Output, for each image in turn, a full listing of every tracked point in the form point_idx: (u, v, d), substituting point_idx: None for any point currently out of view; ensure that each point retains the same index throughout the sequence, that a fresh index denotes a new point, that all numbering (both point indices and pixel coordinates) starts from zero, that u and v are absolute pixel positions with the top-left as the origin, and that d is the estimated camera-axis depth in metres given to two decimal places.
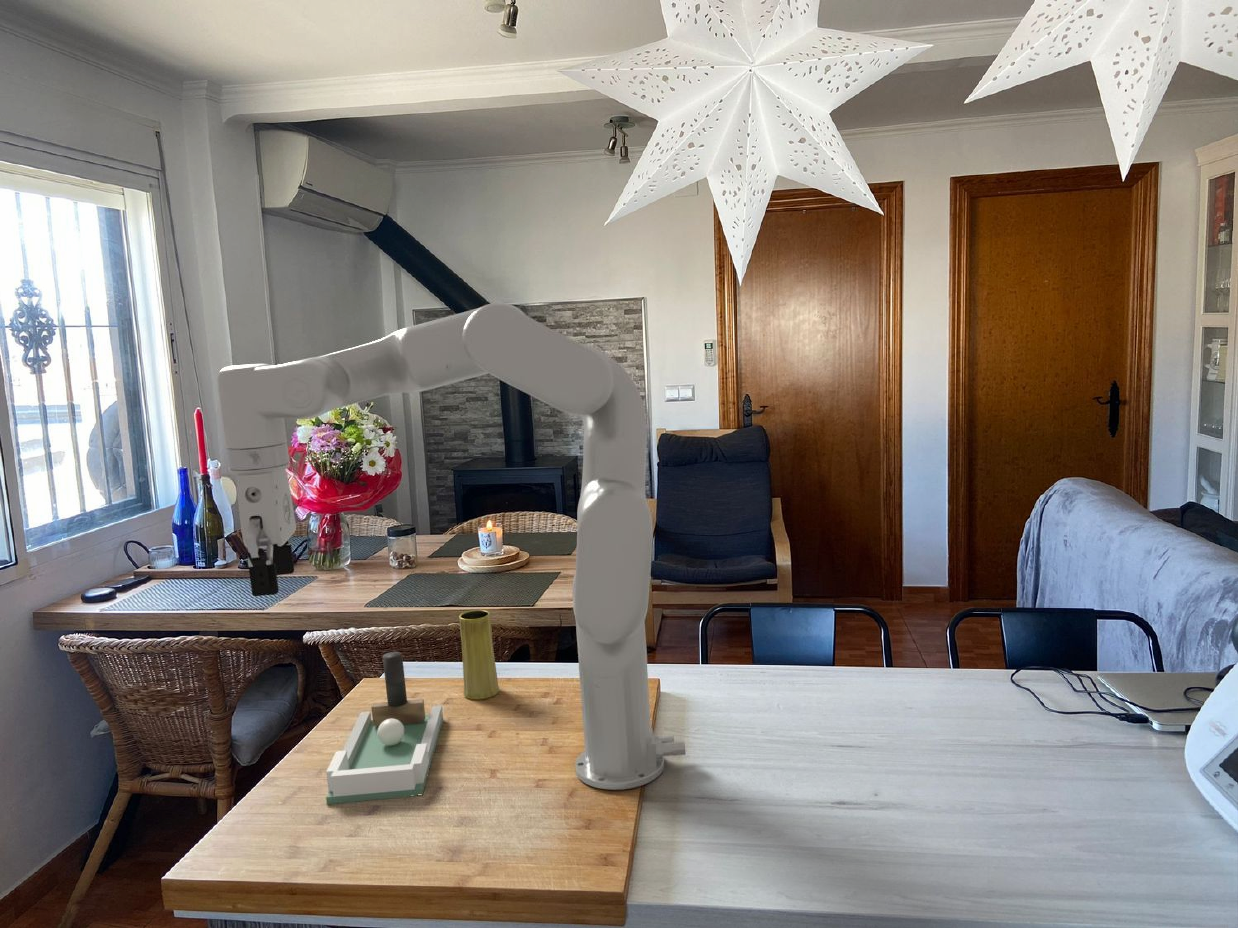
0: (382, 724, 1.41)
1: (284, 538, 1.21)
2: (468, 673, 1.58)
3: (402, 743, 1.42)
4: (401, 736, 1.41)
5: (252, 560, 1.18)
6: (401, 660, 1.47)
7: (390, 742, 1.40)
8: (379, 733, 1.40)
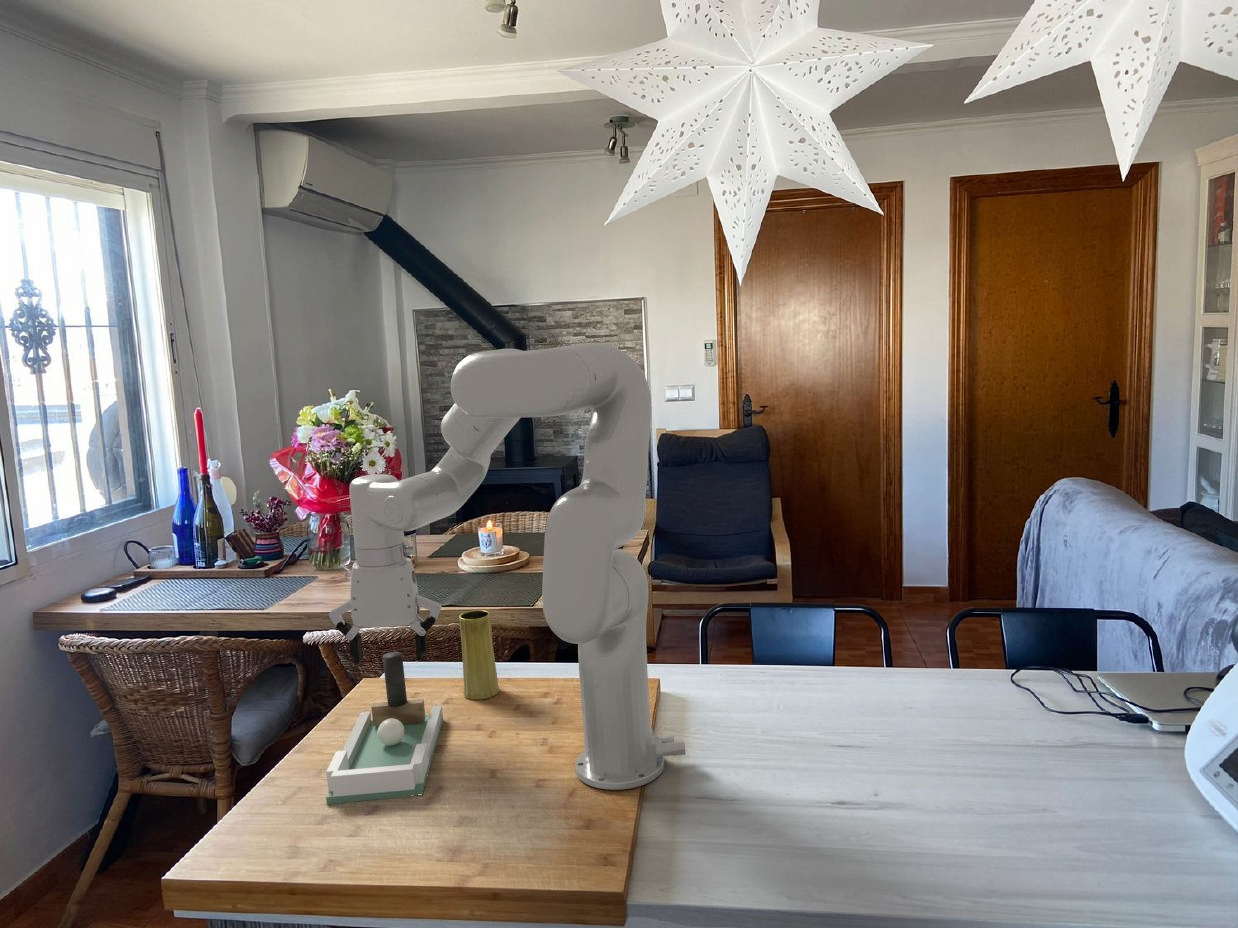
0: (382, 724, 1.41)
1: None
2: (468, 673, 1.58)
3: (402, 743, 1.42)
4: (401, 736, 1.41)
5: None
6: (401, 660, 1.47)
7: (390, 742, 1.40)
8: (379, 733, 1.40)
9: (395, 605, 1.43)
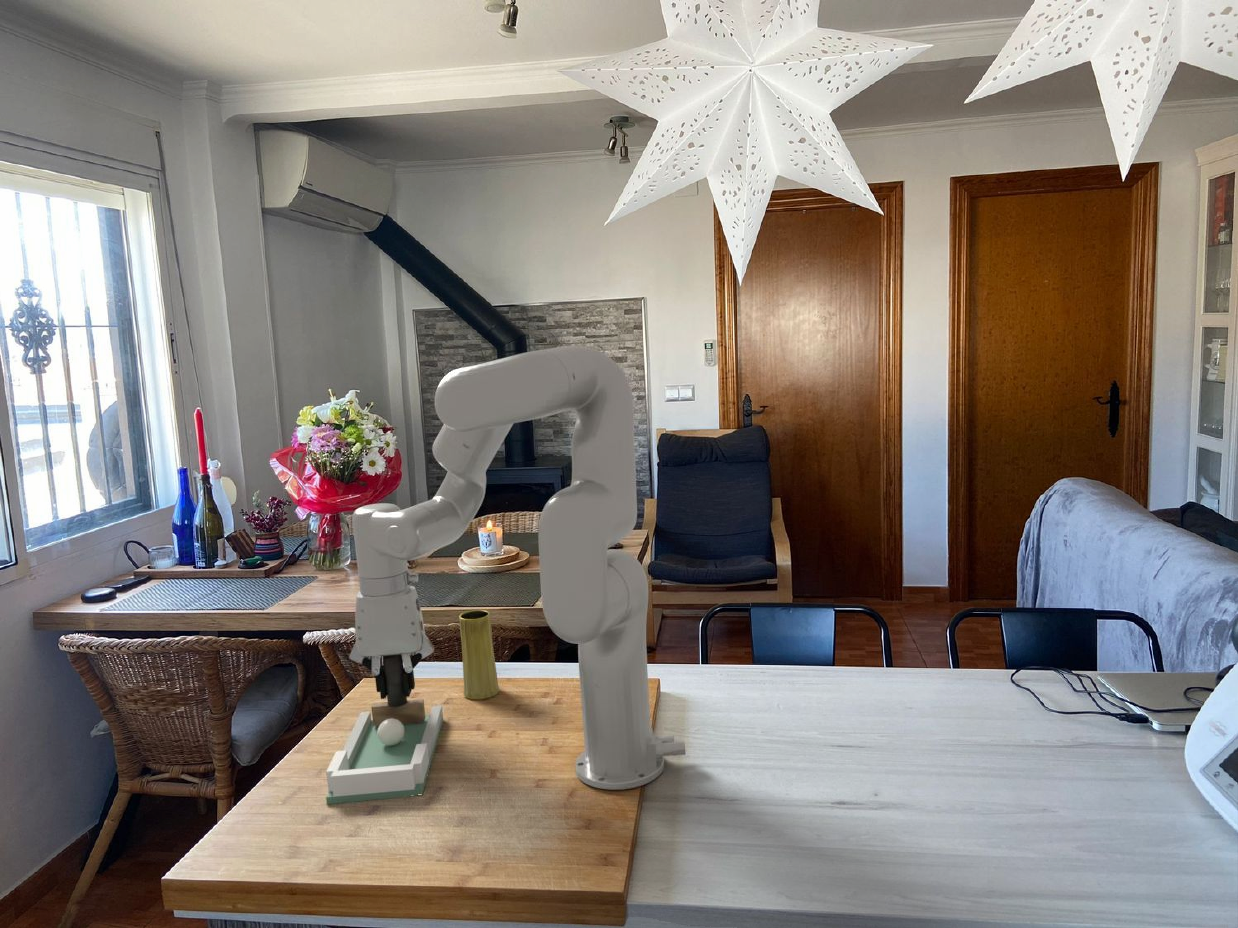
0: (382, 724, 1.41)
1: None
2: (468, 673, 1.58)
3: (402, 743, 1.42)
4: (401, 736, 1.41)
5: (418, 662, 1.47)
6: (401, 660, 1.47)
7: (390, 742, 1.40)
8: (379, 733, 1.40)
9: (400, 633, 1.44)
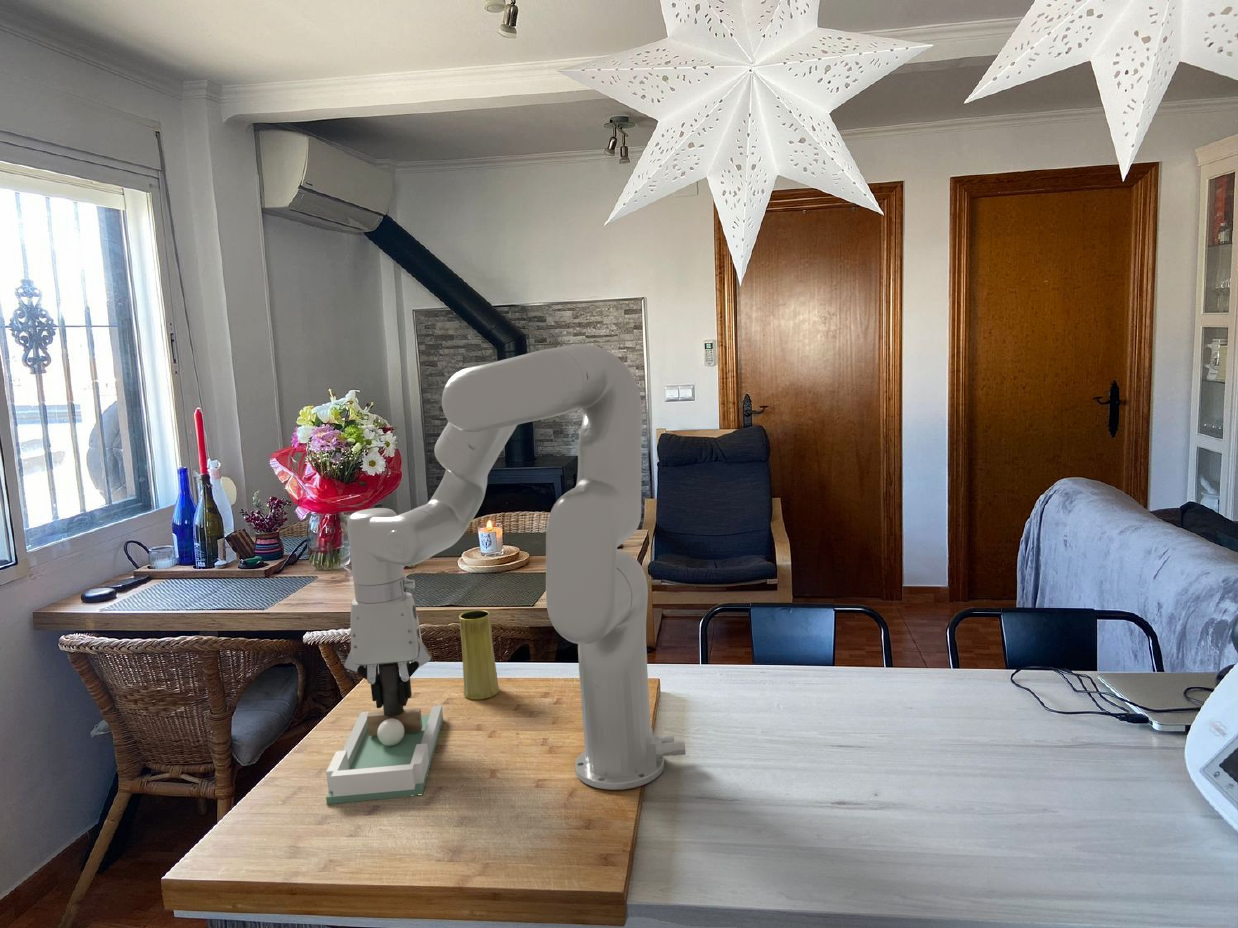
0: (382, 724, 1.41)
1: None
2: (468, 673, 1.58)
3: (402, 743, 1.42)
4: (401, 736, 1.41)
5: (414, 671, 1.43)
6: (397, 668, 1.43)
7: (390, 742, 1.40)
8: (379, 733, 1.40)
9: (396, 641, 1.41)
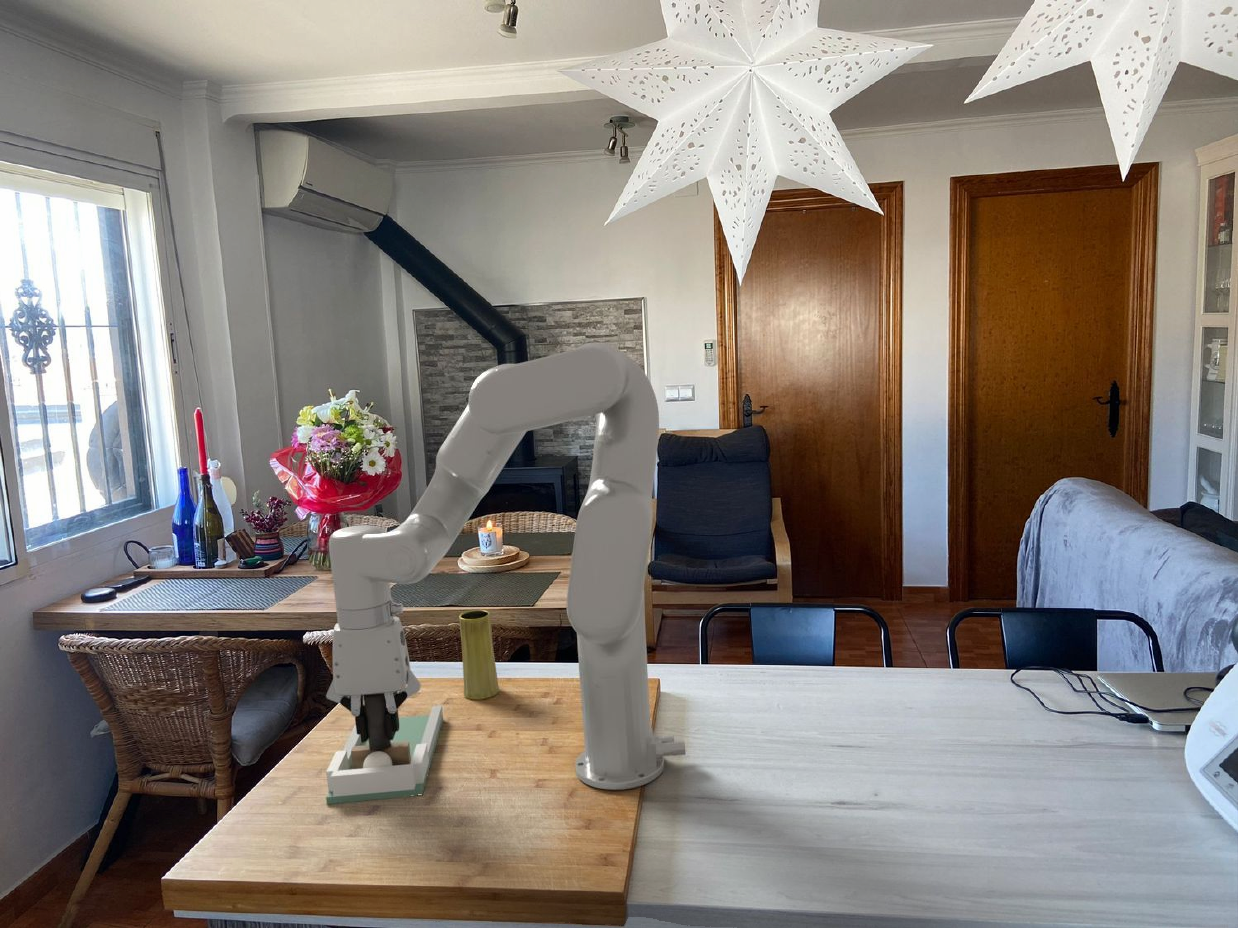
0: None
1: None
2: (468, 673, 1.58)
3: None
4: (388, 763, 1.30)
5: (402, 702, 1.32)
6: (384, 699, 1.32)
7: (376, 761, 1.30)
8: (366, 757, 1.31)
9: (382, 670, 1.29)
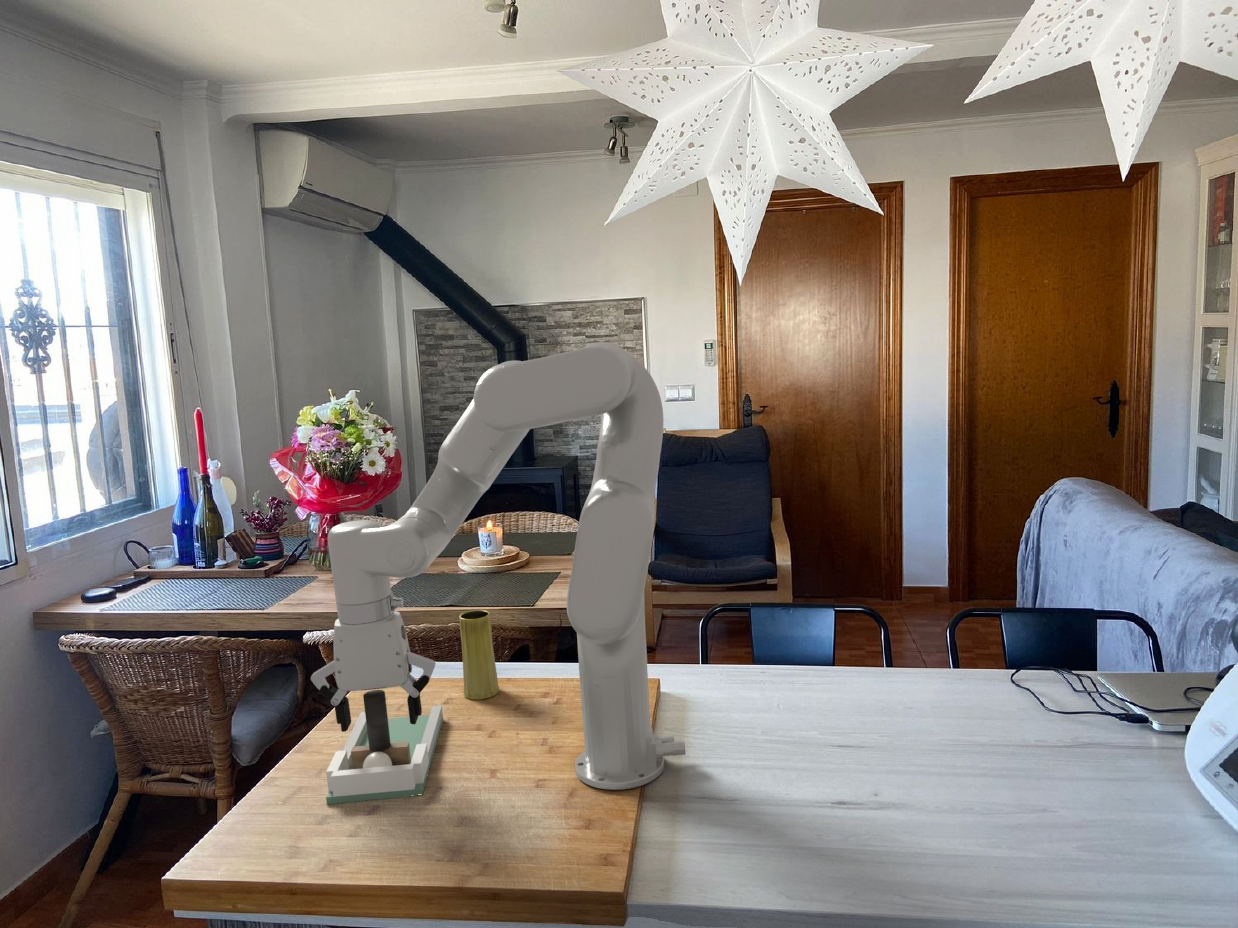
0: None
1: None
2: (468, 673, 1.58)
3: None
4: (388, 763, 1.30)
5: (425, 685, 1.32)
6: (384, 699, 1.32)
7: (375, 763, 1.29)
8: (366, 758, 1.31)
9: (383, 665, 1.29)
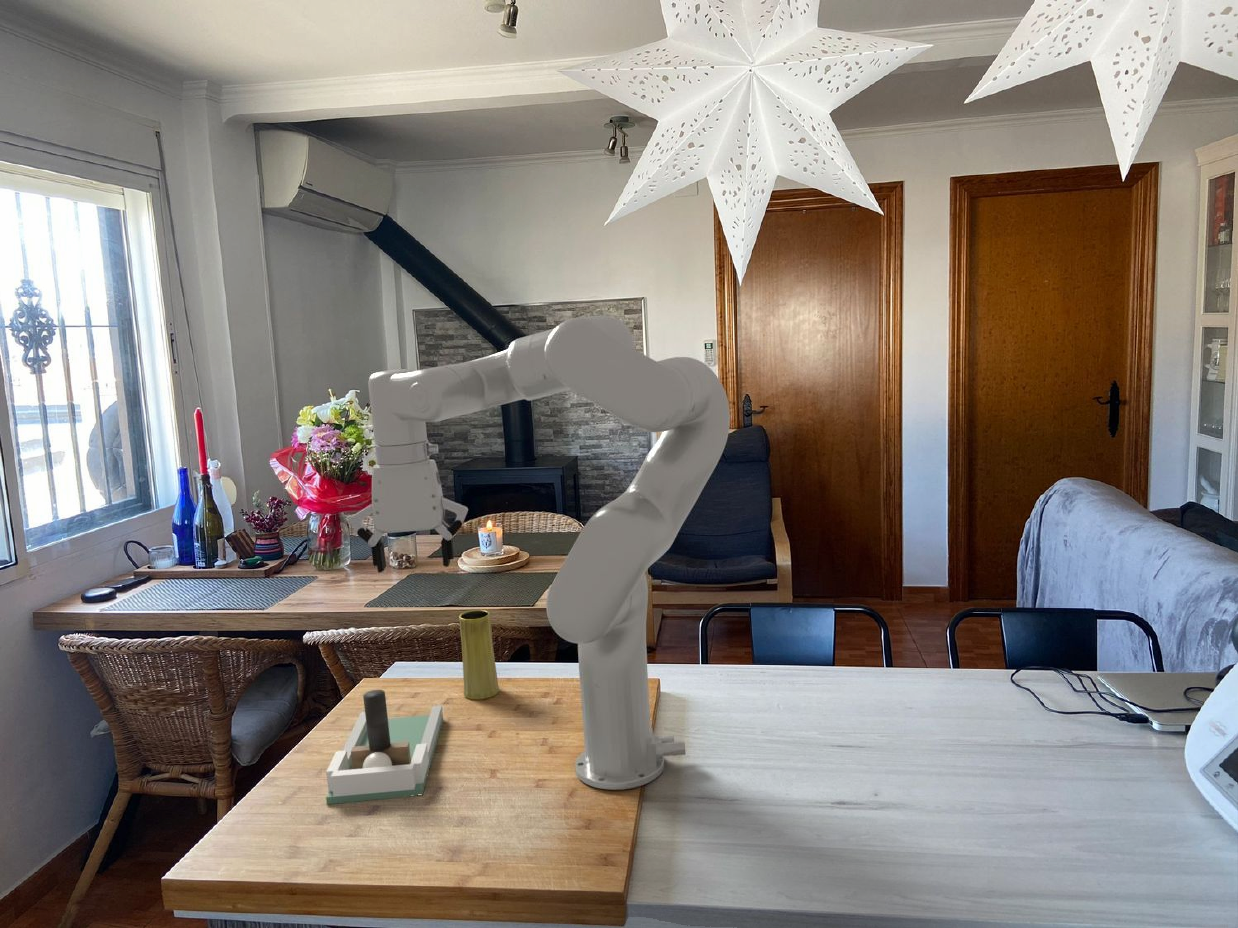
0: None
1: None
2: (468, 673, 1.58)
3: None
4: (388, 764, 1.30)
5: (457, 530, 1.38)
6: (384, 699, 1.32)
7: (375, 764, 1.29)
8: (365, 759, 1.30)
9: (419, 507, 1.36)
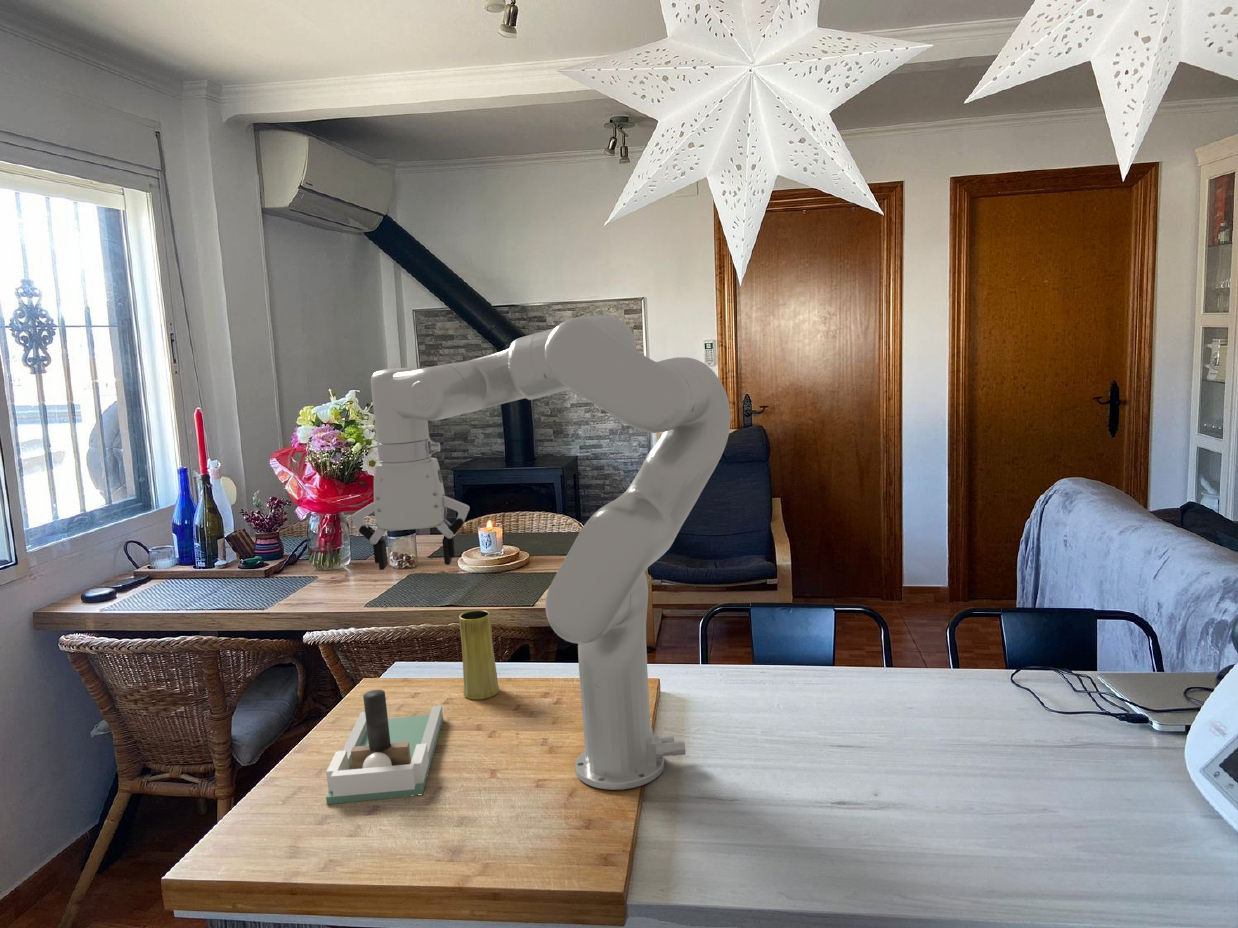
0: None
1: None
2: (468, 673, 1.58)
3: None
4: (387, 765, 1.30)
5: (459, 528, 1.39)
6: (384, 699, 1.32)
7: (375, 765, 1.29)
8: (365, 759, 1.30)
9: (421, 505, 1.36)
